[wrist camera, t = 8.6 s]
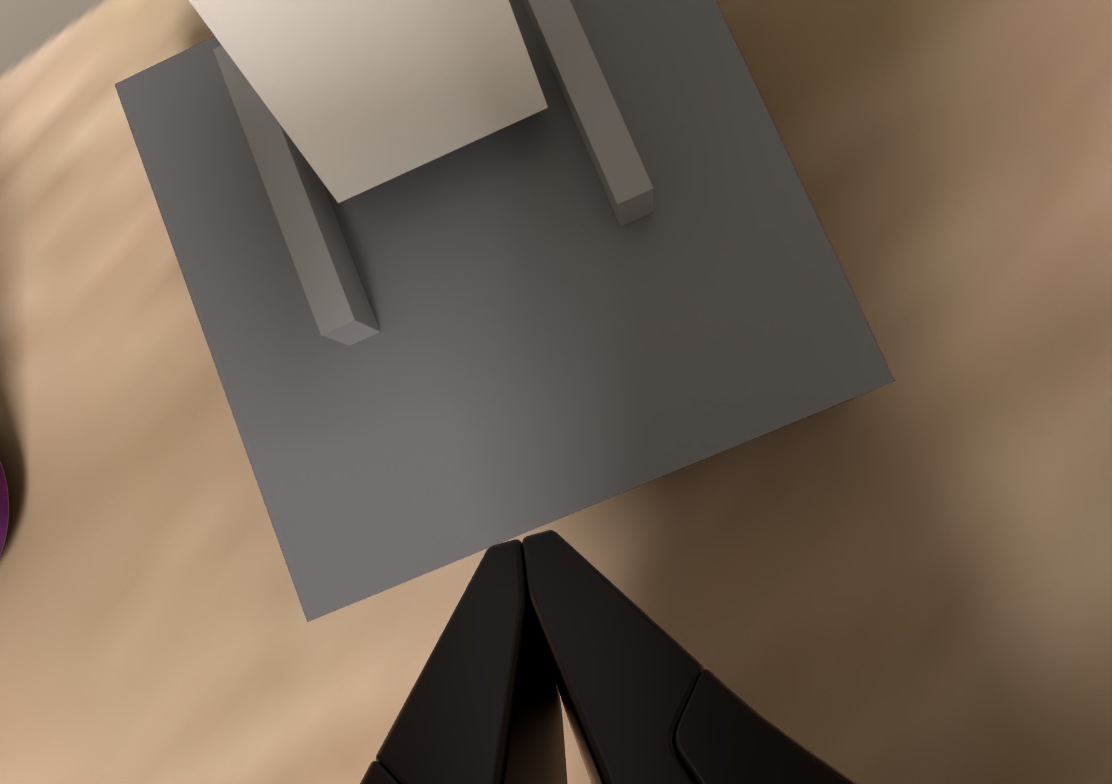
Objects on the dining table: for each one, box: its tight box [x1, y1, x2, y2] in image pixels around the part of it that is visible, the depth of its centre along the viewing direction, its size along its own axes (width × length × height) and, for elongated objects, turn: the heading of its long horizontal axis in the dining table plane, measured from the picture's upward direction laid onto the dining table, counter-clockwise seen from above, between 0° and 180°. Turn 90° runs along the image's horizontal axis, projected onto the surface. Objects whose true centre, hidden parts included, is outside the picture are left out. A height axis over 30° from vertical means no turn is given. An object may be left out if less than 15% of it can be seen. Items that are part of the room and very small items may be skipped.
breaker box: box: [115, 0, 895, 622], centre depth 19 cm, size 14×14×5 cm
